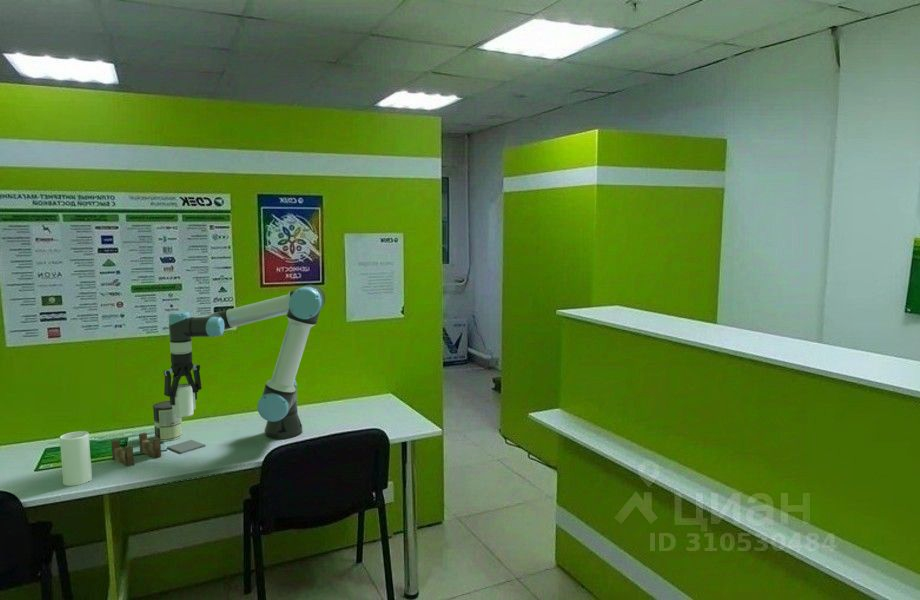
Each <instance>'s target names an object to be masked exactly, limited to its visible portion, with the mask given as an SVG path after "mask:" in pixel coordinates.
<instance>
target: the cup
mask: <svg viewBox="0 0 920 600" xmlns="http://www.w3.org/2000/svg"><path fill="white" fill-rule="evenodd" d="M59 445H60V458H61V459H60V460H61V469H62V471H61V472H62V485H64V486H68V487H73V486H74V487H75V486H80V484H81V485H84V484H86V482H87V483H89V482H90V481H92V479H93V473H92V461H91V460H92V459H91V446H90V433H89V431H85V430H79V431H77V430H76V431H72V432H71V431H70V432H67V433H64V434H62V435H60V436H59ZM88 481H89V482H88Z"/></svg>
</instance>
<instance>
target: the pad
mask: <svg viewBox="0 0 920 600" xmlns="http://www.w3.org/2000/svg"><path fill="white" fill-rule="evenodd" d="M205 447H206V444H204V443H202V442H199V441H197V440H194V439H189V440H186V441H182V442H179V443H175V444H172V445H169V446H167V447H166V448H167V449H168V450H171V451H174V452H175V453H178V454H185V453H188V452H191V451H195V450H197V449H201V448H205Z"/></svg>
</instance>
